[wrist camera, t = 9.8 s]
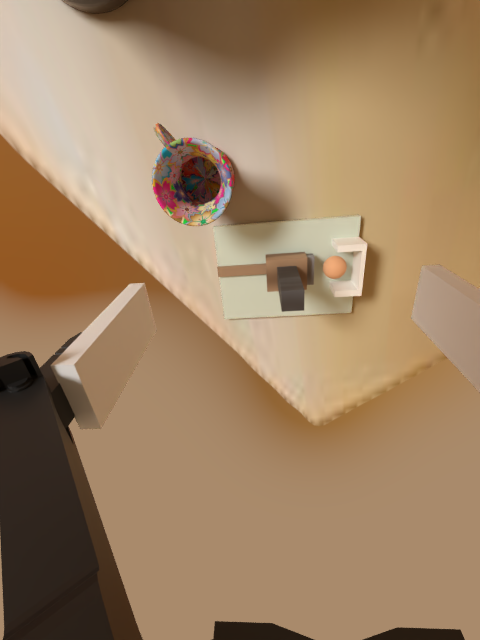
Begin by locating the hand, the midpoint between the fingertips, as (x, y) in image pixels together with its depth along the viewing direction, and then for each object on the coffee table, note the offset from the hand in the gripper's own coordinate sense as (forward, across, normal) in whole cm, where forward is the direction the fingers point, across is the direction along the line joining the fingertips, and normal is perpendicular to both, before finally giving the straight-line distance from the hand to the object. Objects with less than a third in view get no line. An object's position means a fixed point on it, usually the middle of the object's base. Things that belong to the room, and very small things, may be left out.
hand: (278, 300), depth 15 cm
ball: (+32, +10, -10) cm, 35 cm away
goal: (+35, +12, -10) cm, 38 cm away
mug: (+35, -9, +5) cm, 36 cm away
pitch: (+35, +3, -11) cm, 37 cm away
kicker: (+33, +3, -10) cm, 34 cm away
